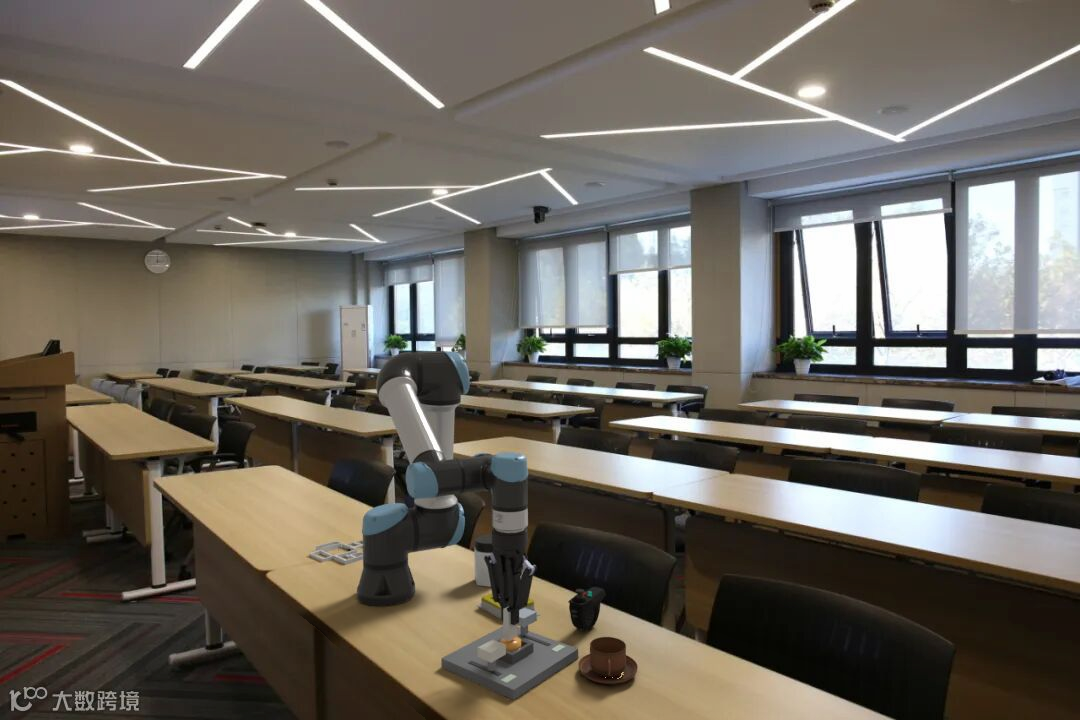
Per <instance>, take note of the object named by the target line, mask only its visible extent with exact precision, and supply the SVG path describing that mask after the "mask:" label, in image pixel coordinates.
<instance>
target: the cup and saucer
mask: <svg viewBox="0 0 1080 720" xmlns="http://www.w3.org/2000/svg"><path fill="white" fill-rule="evenodd" d="M638 667H639V666H638V664H637V662H636V660H635V659H633V658H632V657H630V656H629V655H627V645H626V643H625V641H624V640H621V639H619V638H617V637H611V636H600V637H597V638H594V639H593V640H591V642H589V653H588V654H586V655H584V656H583V657H581V658H580V660H579V662H578V669H579V671H580V673H581V674H582V675H583V676H584V677H585V678H586V679H588V680H590V681H592V682H595V683H598V684H604V685H614V684H615V685H616V684H623V683H626V682H627V681H630V680H631V679H633V678H634V676H635V675H636V674H637V672H638V669H639V668H638ZM622 672H624V673H623V674H624V675H622V677H621V678H619V677H620V676H621V673H622ZM605 677H606V678H605ZM612 677H613V678H612ZM617 678H619V679H617Z"/></svg>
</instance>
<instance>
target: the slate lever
mask: <svg viewBox="0 0 1080 720" xmlns="http://www.w3.org/2000/svg"><path fill="white" fill-rule="evenodd" d="M535 611H536V610H535ZM535 611H532V610H529V609H526V608H523V609H521V610H519V623H518V624H517V627H518V626H519V628H520V633H521V634H522V635H526V634H528V631H529V626H530V625H531V624H534V623H535V622H537V620H538V618H537V617H538V616H537V612H538V611H537V612H535Z"/></svg>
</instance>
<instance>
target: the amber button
mask: <svg viewBox="0 0 1080 720" xmlns="http://www.w3.org/2000/svg"><path fill="white" fill-rule="evenodd" d="M500 643H503V644H506V650H507V651H510V652H514V651H515V650H517V649H519V648H521V639H520V638H518V637H515V638H514V639H512V640H510V641H507V640H504V639H503V638H502V639H501V640H500Z"/></svg>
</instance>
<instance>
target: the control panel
mask: <svg viewBox="0 0 1080 720" xmlns="http://www.w3.org/2000/svg"><path fill="white" fill-rule="evenodd" d="M517 637H518V638H520V639H521V648H519V649H517V650H515V651H514V652H510V651H507V650H506V655H504V656H502V657H500V658H499V659H497V660H496V669H495V670H493V671H491V670H488V661H485V660H483V659H480V658H478V647H479V646H481V645H483V644H485V643H487V642H489V641H491V640H495V641H498V642H500V640H501V639H502V638H503V626H501V627H499V628H497V629H495V630H493V631H491V632H489V633H488V634H486V635H484V636H482V637H480V638H477V639H476V640H474V641H472V642H470V643H468V644H466V645H464V646H462V647H460V648H458V649H456V650H455V651H453V652H451V653H449V654H447V655H444V656H443V657H441V668H442V669H444V670H446V671H448V672H451V673H452V674H455V675H457V676H459V677H461V678H464V679H466V680H468V681H470V682H473V683H475V684H477V685H479V686H482V687H484V688H486V689H488V690H490V691H493V692H495V693H497V694H500V695H502V696H504V697H506V698H508V699H511V700H513V701H515V700H517V699H518V698H519V697H521V696H523V695H524V694H526V693H527V692H529V691H530V690H531V689H533V688H535V687H536V686H538V685H539V684H541V683H543V682H544V681H545V680H547V679H549V678H551V677H552V676H553V675H554V674H556V673H558V672H559V671H561V670H562V669H563V668H566V667H567V666H568V665H570V664H571V663H573V662H574V661H576V660H577V659H579V647H578V648H577V647H574V646H571V645H569V644H567V643H564V642H561V641H558V640H555V639H552V638H549V637H546V636H544V635H541V634H538V633H535V632H534V631H529V630H528V634H526V635H522V634H521V633H520V626H519V627H518V626H517Z"/></svg>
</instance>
